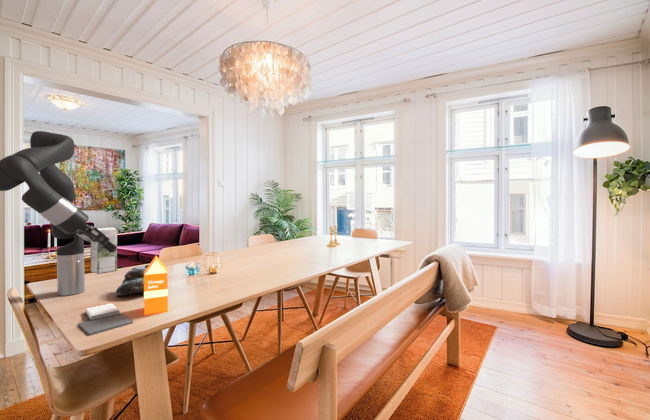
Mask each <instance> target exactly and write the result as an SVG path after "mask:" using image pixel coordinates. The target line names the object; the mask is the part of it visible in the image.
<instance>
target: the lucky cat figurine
mask: <svg viewBox="0 0 650 420" xmlns="http://www.w3.org/2000/svg"><path fill="white" fill-rule="evenodd" d="M148 266H149V264H147V265H145V266H143V265H141V266H136V267H132V268H131V269H130V270H128V271H127V272H126V273H125V274H124V279H123V280H122V282H121V285H119V286H118V287H117V289H116V291H115V293H116V294H115V295H114V297H117V298H119V297H122V296H125V295H134V294H141V293H144V272H145V270H146V268H147V267H148Z"/></svg>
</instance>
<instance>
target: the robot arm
mask: <svg viewBox="0 0 650 420" xmlns="http://www.w3.org/2000/svg"><path fill="white" fill-rule="evenodd" d="M29 145H30V147H28V148H23V149H22V150H19V151H17V152H15V153H13V154H11V155H7V156H6V157H5V156H4V157H3V158H2V159H0V192H6V191H10V190H11V191H12V190H13V189H14V188H16V187H18V186H20V185H21V184H23V183H25V184H26V185H27V186H28V188H29V189H27V190H26V191H25V192H24V193H23V194H22V196H21V200H22V201H23V203H24V204H26V205H27V206H28V207H30V208H31V209H33V210H34V211H35V212H37V213H38V214H40V215H41V216H42V217H43V218H44V219H45V220H46V221H48V222H49V223H50V231H51V234H52V237H54V239H59V240H61V239H63V240H64V239H73V241H72V242H71V243H68V244H65V245H63V246H59V247H58V248H56V276H57V277H56V278H57V279H56V285H57V286H56V287H57V295H58V296H62V297H63V296H73V295H78V294H81V293H83V292H85V291H86V287H85V286H86V285H85V280H86V277H85V274H86V273H85V245H84V244H85V241H86V243H90V244H91V241H92V242H93V243H95V242H97V243H98V244H100V245H101V246H103V247H104V248H106V249H107V250H108V251H110V252H114V251H115V250H116V249H117V250H118V246H117V247H116V246H115V245H113V244H112V243H111V242H110V241H109V240H110V239H109V238H108V237H106V236H105V235H104V234H103V233H102V232H100V231H99V230H98V229H97V228H98V227H95V226H93V225H92V224H90V225H89V224H87V222H88V221H89V215H88V214H86V213H85V212H84V211H83V210H81V209H80V208H79V207H78V206H76V205H75V204H73V202H74V201H75V199H76V192H75V186H74V182H73V181H72V179H70V177H69V176H68V175H67V173H66V174H65V173H64V172H63V171H62V170H61V169H60V168H59V167H58V166H57V165H56V164H59V163H63V162H66V161H69V160H71V158H72V157H73V156H74V154H75V147H76V146H75V142H74V140H73V138H72V137H70V136H69V135H66V134H61V133H55V132H50V131H44V130H37V131H34V132H32V133H31V135H30V141H29ZM93 238H94V239H93ZM101 238H103V239H104V240H103V241H100V239H101Z"/></svg>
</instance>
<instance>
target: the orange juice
mask: <svg viewBox="0 0 650 420" xmlns="http://www.w3.org/2000/svg"><path fill="white" fill-rule="evenodd" d="M148 265H149V266H148V267H147V268H146V270H145V272H144V292H143V302H144V304H143V305H144V307H143V309H144V311H143V312H144V316H149V315H155V314H162V313H163V314H164V313H168V310H169V308H168V307H169V306H168V304H169V302H168V301H169V299H168V296H169V292H168V291H169V290H168V285H169V283H168V282H169V281H168V279H169V278H168V274H169V272H168V268H167V267H166V265H165V264H164V263H163V262H162V260H160V258H159V257H158V256H157V255H155V256H154V257H153V259H152V261H151V262H150V263H149V264H148Z"/></svg>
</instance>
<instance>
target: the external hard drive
mask: <svg viewBox="0 0 650 420" xmlns="http://www.w3.org/2000/svg"><path fill="white" fill-rule="evenodd" d="M84 311H85V313H86V315H87V317H88V318H89V320H97V319H101V318H105V317H110V316H114V315H118V314H120V313H121V312H120V309H119V308H118V307H116V306H115V305H114V304H113V303H107V304H102V305H97V306H93V307H87V308H85V309H84Z"/></svg>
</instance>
